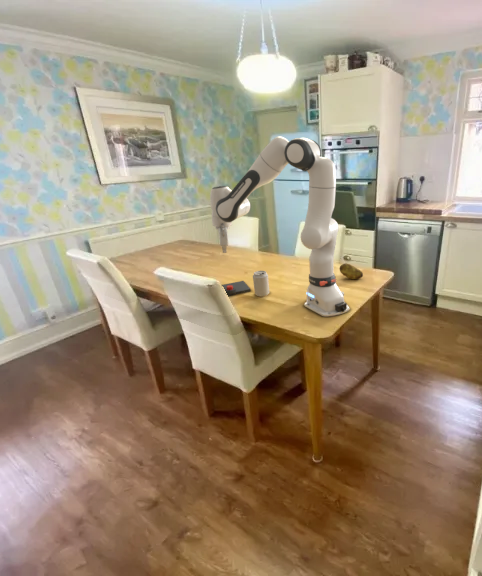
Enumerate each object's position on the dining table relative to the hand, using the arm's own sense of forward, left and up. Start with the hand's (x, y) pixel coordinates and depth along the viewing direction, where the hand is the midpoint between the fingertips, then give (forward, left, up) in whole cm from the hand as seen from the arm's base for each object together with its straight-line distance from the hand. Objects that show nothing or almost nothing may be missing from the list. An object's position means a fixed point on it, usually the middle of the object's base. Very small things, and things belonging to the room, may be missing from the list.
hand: (224, 249), depth 157 cm
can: (-11, -14, -24) cm, 29 cm away
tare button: (-2, 0, -21) cm, 21 cm away
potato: (-15, -65, -24) cm, 70 cm away
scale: (+3, -4, -23) cm, 24 cm away
